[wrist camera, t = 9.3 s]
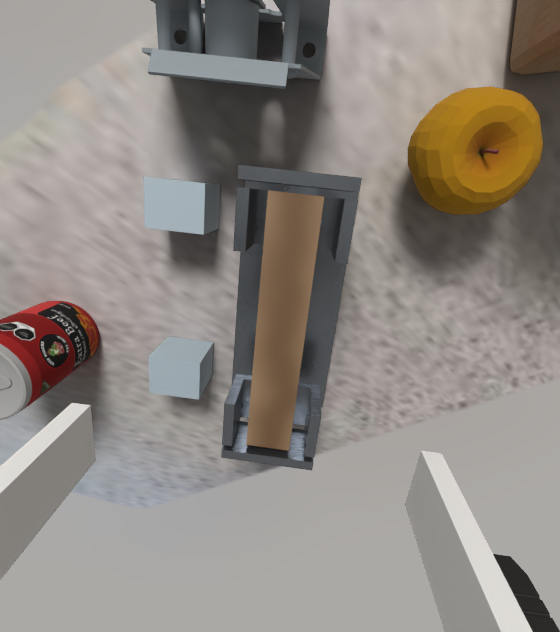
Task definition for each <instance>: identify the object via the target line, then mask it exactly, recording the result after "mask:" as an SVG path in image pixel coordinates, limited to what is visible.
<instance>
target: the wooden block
mask: <svg viewBox="0 0 560 632" xmlns="http://www.w3.org/2000/svg"><path fill="white" fill-rule="evenodd" d="M510 67H511V72H515V73H519V74H522V75H525V74H534V73H544V72H553V71H560V0H517V6H516V15H515V23H514V32H513V40H512V49H511V57H510Z"/></svg>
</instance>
